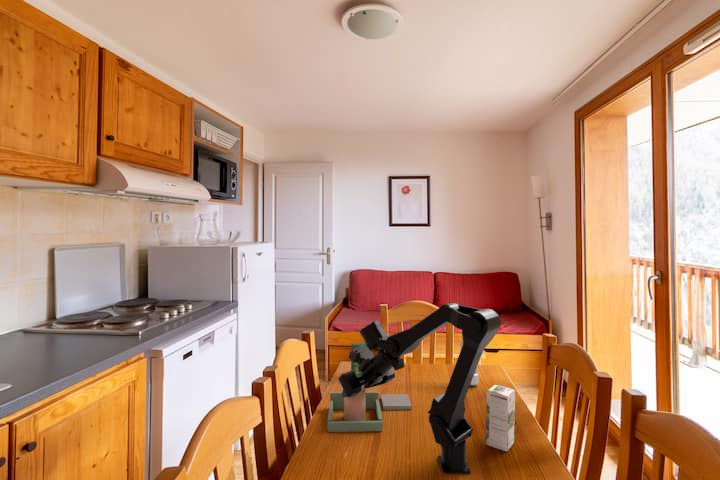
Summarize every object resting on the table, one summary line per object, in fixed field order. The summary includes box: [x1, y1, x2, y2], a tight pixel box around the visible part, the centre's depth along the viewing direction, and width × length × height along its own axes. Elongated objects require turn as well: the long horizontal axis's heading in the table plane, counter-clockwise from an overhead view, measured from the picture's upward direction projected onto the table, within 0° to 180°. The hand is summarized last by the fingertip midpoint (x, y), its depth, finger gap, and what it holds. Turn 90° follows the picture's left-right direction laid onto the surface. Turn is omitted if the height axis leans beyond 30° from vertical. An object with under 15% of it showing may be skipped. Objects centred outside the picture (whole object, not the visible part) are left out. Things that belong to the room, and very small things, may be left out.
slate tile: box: [380, 393, 413, 411], centre depth 125 cm, size 9×9×1 cm
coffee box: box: [350, 341, 373, 378], centre depth 150 cm, size 8×3×13 cm, turn 113°
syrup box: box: [485, 384, 516, 452], centre depth 100 cm, size 6×6×14 cm
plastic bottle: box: [459, 339, 480, 387], centre depth 141 cm, size 6×7×20 cm
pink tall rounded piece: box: [343, 385, 367, 421], centre depth 114 cm, size 6×6×9 cm
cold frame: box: [327, 391, 384, 433], centre depth 114 cm, size 16×16×5 cm
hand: (354, 391), depth 114 cm, fingers open, 9 cm apart
